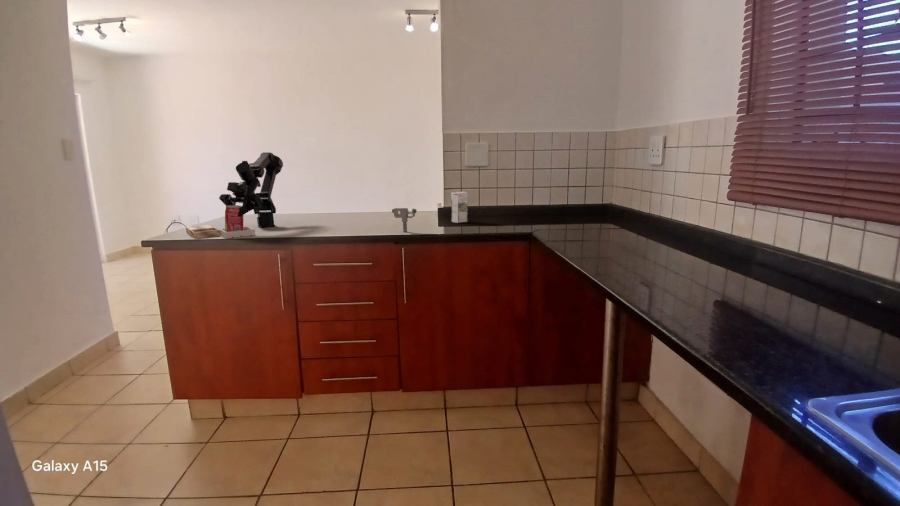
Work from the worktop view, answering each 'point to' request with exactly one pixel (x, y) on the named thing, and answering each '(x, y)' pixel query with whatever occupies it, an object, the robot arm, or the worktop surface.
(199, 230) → the light wood shallow tray
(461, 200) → the syrup box
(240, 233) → the frame
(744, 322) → the worktop surface
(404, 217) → the mechanical component
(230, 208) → the soda can
